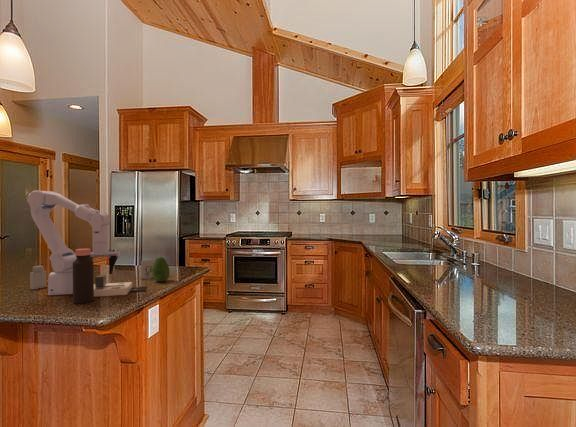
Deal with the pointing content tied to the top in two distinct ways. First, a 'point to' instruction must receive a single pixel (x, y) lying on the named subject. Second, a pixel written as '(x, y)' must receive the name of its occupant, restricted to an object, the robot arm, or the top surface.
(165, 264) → the avocado
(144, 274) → the electrical switch
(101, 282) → the breaker slider
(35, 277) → the power adapter
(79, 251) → the bottle
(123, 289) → the power strip
